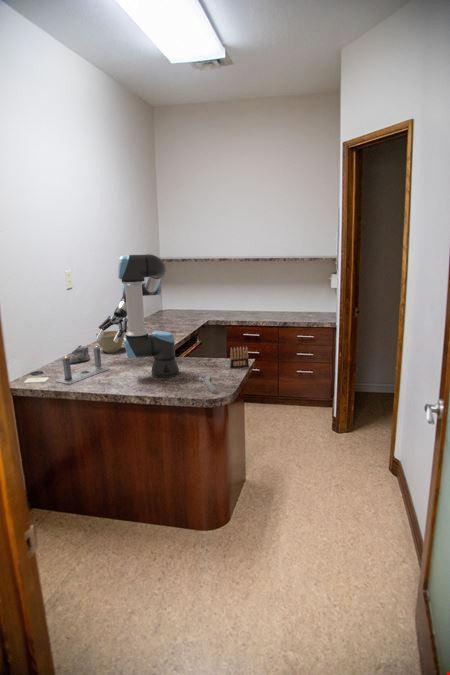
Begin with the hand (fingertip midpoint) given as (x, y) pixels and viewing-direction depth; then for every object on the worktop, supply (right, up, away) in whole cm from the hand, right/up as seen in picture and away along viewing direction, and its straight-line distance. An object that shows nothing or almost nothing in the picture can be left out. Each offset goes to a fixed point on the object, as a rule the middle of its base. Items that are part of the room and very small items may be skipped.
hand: (106, 340), depth 261 cm
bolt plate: (-9, -19, -14) cm, 25 cm away
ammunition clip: (+77, -15, -7) cm, 79 cm away
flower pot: (-6, -7, +37) cm, 38 cm away
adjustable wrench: (+60, -23, -36) cm, 74 cm away
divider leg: (-3, -15, -5) cm, 16 cm away
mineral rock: (-20, -13, +14) cm, 28 cm away
